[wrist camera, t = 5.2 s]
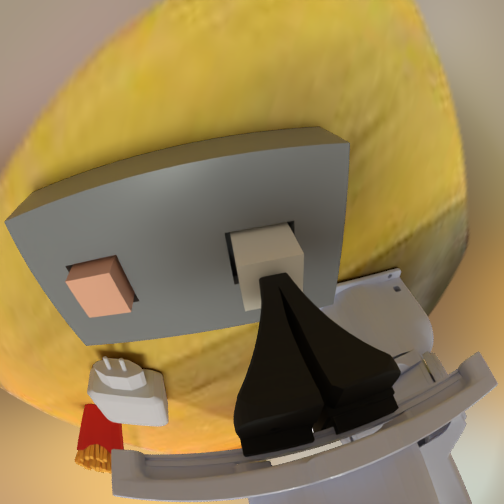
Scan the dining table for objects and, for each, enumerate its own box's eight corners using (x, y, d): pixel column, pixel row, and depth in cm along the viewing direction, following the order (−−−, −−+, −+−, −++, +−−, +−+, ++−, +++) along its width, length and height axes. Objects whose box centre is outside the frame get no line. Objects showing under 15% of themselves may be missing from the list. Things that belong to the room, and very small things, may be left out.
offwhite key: (286, 221, 15) (304, 253, 13) (287, 265, 17) (302, 299, 15) (229, 231, 15) (236, 266, 13) (237, 274, 17) (245, 311, 14)
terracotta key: (120, 241, 15) (109, 272, 13) (137, 279, 17) (131, 312, 15) (79, 250, 15) (65, 281, 13) (99, 286, 17) (89, 317, 15)
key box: (319, 126, 15) (349, 143, 12) (315, 270, 23) (333, 304, 20) (32, 192, 14) (4, 221, 11) (95, 310, 21) (86, 345, 18)
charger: (158, 341, 26) (167, 398, 34) (77, 334, 23) (107, 393, 32) (157, 382, 22) (168, 427, 30) (67, 371, 20) (105, 421, 28)
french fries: (121, 407, 35) (121, 474, 25) (126, 415, 37) (127, 477, 28) (76, 401, 33) (71, 464, 23) (84, 409, 35) (80, 468, 26)
